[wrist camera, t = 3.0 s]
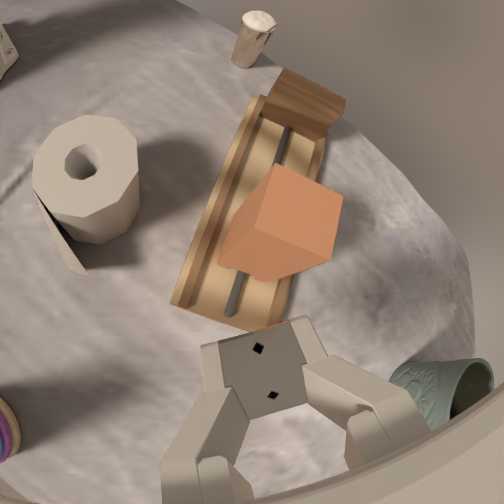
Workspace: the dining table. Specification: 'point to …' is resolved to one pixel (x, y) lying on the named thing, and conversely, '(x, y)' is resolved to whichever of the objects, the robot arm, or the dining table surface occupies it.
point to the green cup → (444, 386)
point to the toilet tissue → (87, 182)
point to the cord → (241, 275)
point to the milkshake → (252, 37)
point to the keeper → (282, 227)
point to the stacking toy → (8, 432)
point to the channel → (240, 187)
